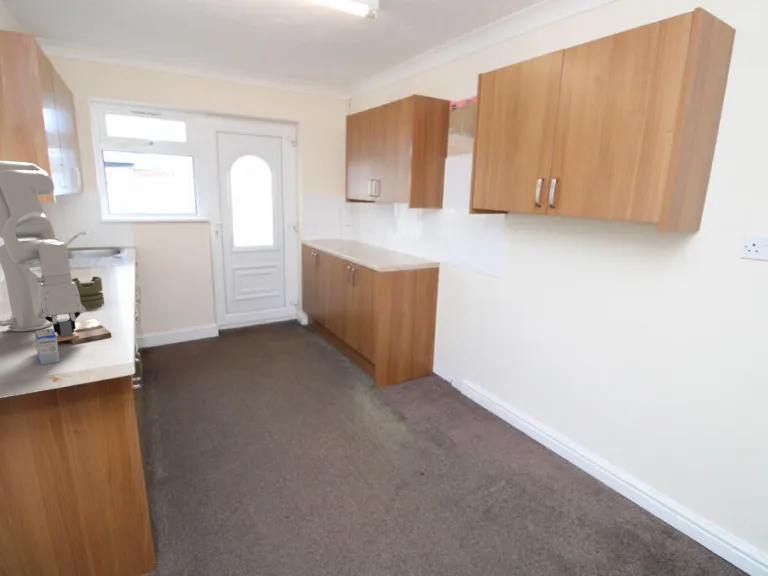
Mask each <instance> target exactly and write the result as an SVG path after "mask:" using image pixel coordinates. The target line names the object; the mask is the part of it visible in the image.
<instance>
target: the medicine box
mask: <svg viewBox="0 0 768 576" xmlns="http://www.w3.org/2000/svg"><path fill="white" fill-rule="evenodd" d="M55 334H56V333H55V332H54V328H43V329H38V330H34V336H35V343H36V352H37V357H38V359H39V362H40V365H41V366H43V365H48V364H54V363H58V362H60V361H61V360H60V353H59V346H58V342H57V338H56V335H55Z"/></svg>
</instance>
